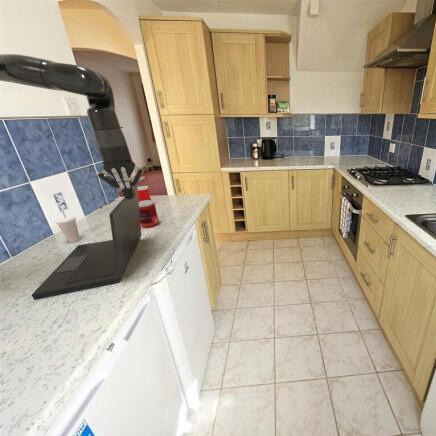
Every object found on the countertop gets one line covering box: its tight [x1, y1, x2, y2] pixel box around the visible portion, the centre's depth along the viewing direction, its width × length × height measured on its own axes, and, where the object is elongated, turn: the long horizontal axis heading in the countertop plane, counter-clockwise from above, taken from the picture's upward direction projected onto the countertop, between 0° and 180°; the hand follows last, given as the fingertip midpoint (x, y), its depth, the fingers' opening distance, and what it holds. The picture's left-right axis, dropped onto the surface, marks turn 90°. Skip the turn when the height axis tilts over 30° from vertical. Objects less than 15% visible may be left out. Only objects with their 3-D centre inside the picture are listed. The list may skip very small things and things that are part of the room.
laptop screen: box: [108, 185, 142, 279], centre depth 84 cm, size 21×30×1 cm
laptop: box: [31, 239, 141, 301], centre depth 84 cm, size 21×30×2 cm
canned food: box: [139, 199, 160, 229], centre depth 112 cm, size 8×8×11 cm
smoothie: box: [54, 208, 81, 243], centre depth 99 cm, size 6×6×14 cm
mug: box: [137, 185, 152, 202], centre depth 134 cm, size 12×8×11 cm
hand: (130, 198), depth 80 cm, fingers closed
